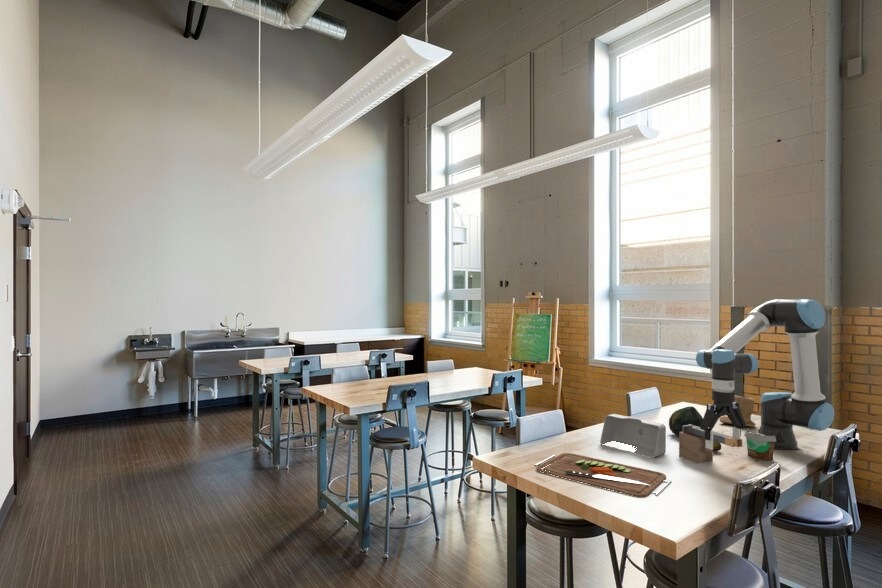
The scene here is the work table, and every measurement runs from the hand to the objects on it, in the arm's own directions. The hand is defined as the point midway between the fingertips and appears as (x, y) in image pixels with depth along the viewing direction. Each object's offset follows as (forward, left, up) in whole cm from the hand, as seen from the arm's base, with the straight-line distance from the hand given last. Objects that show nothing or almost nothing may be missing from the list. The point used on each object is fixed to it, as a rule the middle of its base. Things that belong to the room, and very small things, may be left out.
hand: (723, 447), depth 190 cm
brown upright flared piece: (-66, -48, -8) cm, 82 cm away
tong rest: (0, -5, -8) cm, 10 cm away
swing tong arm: (+2, -4, +2) cm, 5 cm away
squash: (-24, -40, -8) cm, 47 cm away
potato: (-13, -21, -8) cm, 26 cm away
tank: (+12, -32, -9) cm, 36 cm away
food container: (-25, -6, -8) cm, 27 cm away
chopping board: (+47, -11, -9) cm, 49 cm away
